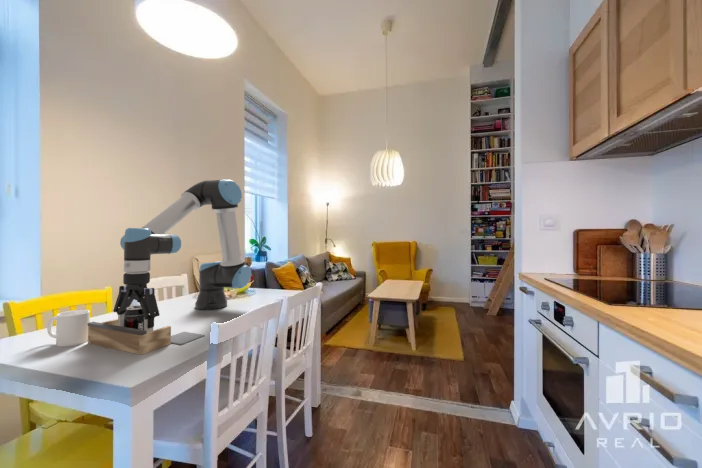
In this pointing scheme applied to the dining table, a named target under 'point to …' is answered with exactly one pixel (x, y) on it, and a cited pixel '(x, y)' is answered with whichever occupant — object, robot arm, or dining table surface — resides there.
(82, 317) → the cup
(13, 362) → the dining table surface
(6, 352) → the dining table surface
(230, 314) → the dining table surface
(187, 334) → the mat
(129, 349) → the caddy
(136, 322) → the beverage can
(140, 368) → the dining table surface
